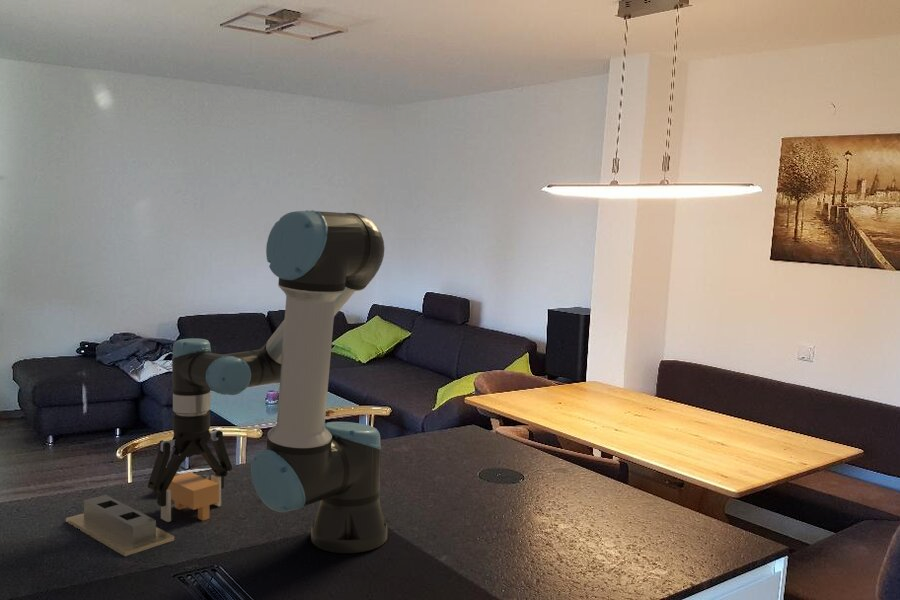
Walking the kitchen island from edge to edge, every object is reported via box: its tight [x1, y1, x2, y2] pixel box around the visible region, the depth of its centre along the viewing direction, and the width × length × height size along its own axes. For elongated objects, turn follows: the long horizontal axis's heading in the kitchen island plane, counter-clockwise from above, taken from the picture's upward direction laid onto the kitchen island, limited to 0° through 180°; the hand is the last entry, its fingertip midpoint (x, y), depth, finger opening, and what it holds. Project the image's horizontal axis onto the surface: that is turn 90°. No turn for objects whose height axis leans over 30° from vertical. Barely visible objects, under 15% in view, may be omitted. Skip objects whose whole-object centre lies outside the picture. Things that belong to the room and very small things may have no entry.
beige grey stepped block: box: [65, 494, 175, 557], centre depth 149 cm, size 24×10×4 cm, turn 51°
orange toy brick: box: [168, 471, 219, 521], centre depth 159 cm, size 11×6×7 cm, turn 51°
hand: (191, 512), depth 160 cm, fingers open, 11 cm apart
